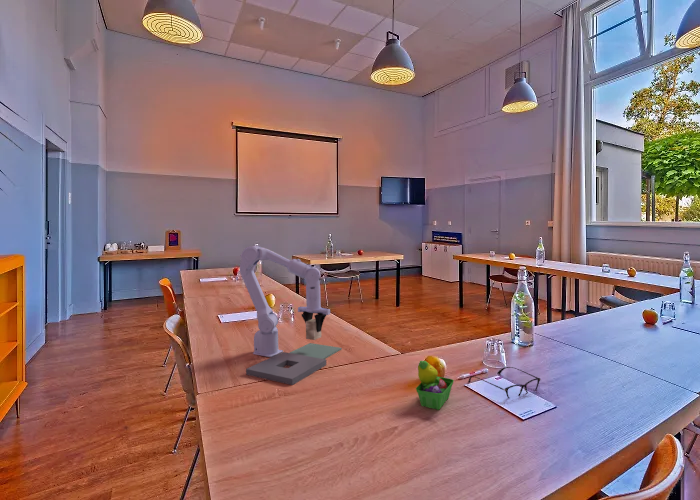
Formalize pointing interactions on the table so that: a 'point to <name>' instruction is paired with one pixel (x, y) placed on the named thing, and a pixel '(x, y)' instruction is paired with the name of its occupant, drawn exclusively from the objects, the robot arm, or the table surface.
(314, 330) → the birch block
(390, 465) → the table surface
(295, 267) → the robot arm
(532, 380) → the eyeglasses
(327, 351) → the rubber mat
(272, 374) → the pocket plate
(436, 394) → the fruit basket
